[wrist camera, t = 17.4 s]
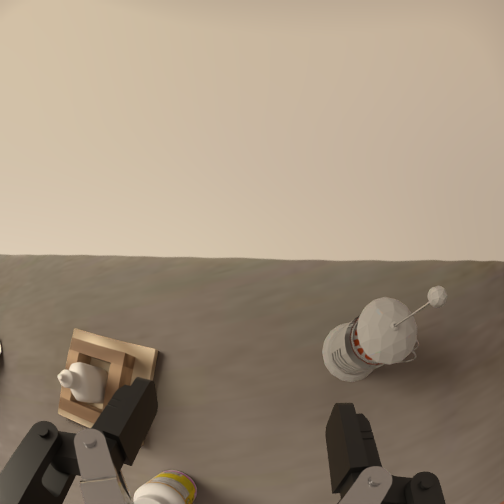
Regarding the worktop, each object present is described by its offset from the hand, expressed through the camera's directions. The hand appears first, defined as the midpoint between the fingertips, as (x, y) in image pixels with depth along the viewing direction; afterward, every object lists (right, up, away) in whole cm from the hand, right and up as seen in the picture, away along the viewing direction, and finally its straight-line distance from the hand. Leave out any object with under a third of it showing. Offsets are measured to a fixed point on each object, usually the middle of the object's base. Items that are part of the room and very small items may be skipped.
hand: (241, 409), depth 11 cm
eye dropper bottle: (-23, -14, +26) cm, 37 cm away
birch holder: (-23, -15, +27) cm, 38 cm away
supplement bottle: (-11, -28, +19) cm, 36 cm away
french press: (+17, -9, +30) cm, 36 cm away
